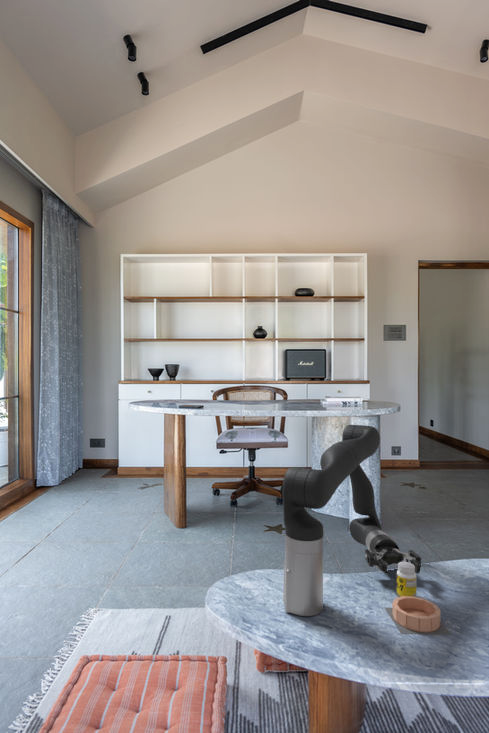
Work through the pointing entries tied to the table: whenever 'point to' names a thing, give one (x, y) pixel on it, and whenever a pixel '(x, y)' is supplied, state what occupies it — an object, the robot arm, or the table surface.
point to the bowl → (416, 614)
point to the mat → (406, 631)
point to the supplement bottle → (406, 579)
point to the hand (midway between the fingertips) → (402, 569)
